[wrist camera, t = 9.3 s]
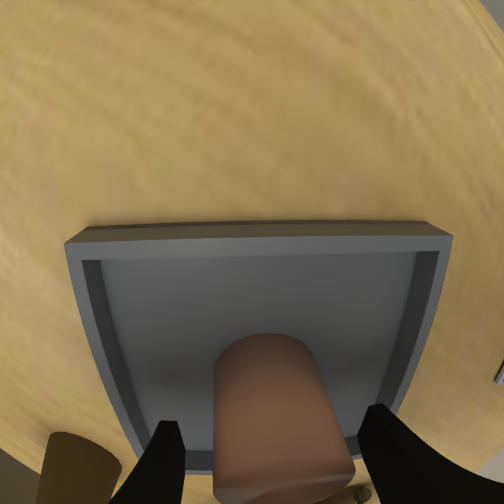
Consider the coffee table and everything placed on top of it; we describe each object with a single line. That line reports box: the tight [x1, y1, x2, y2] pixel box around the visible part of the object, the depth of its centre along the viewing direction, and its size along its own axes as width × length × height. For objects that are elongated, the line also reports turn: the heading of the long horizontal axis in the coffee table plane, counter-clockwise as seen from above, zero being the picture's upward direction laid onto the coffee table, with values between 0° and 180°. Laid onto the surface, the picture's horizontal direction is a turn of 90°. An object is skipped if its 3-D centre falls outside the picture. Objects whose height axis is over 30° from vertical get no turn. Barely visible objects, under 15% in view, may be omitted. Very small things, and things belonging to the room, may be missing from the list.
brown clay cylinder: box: [213, 333, 356, 504], centre depth 10 cm, size 5×5×6 cm
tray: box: [64, 220, 453, 475], centre depth 13 cm, size 14×14×2 cm
